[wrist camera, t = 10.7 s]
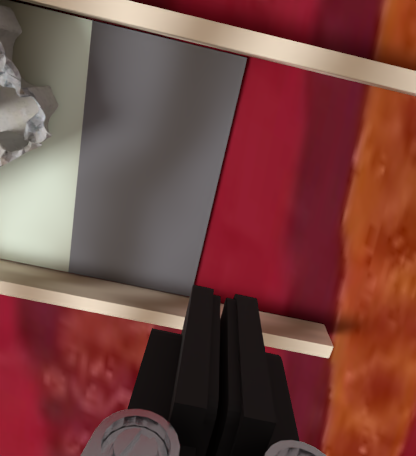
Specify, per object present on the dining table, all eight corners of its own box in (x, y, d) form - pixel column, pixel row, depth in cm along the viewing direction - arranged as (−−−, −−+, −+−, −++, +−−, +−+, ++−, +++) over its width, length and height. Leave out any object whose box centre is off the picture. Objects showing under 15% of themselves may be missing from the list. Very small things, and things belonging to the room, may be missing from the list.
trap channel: (422, 77, 18) (446, 78, 16) (319, 335, 23) (328, 358, 21) (-321, -105, 16) (-394, -128, 14) (-245, 223, 21) (-289, 237, 19)
